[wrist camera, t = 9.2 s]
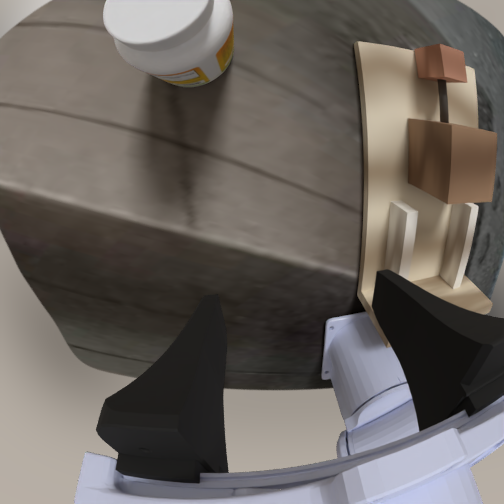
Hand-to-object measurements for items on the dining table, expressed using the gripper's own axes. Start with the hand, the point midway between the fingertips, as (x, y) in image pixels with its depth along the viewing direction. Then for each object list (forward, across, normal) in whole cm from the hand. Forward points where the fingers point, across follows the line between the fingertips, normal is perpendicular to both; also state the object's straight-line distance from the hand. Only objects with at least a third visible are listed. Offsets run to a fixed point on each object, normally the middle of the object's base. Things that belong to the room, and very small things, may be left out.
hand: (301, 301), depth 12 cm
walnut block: (+8, -13, -8) cm, 17 cm away
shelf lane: (+9, -13, -2) cm, 16 cm away
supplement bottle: (+10, +4, -13) cm, 17 cm away
